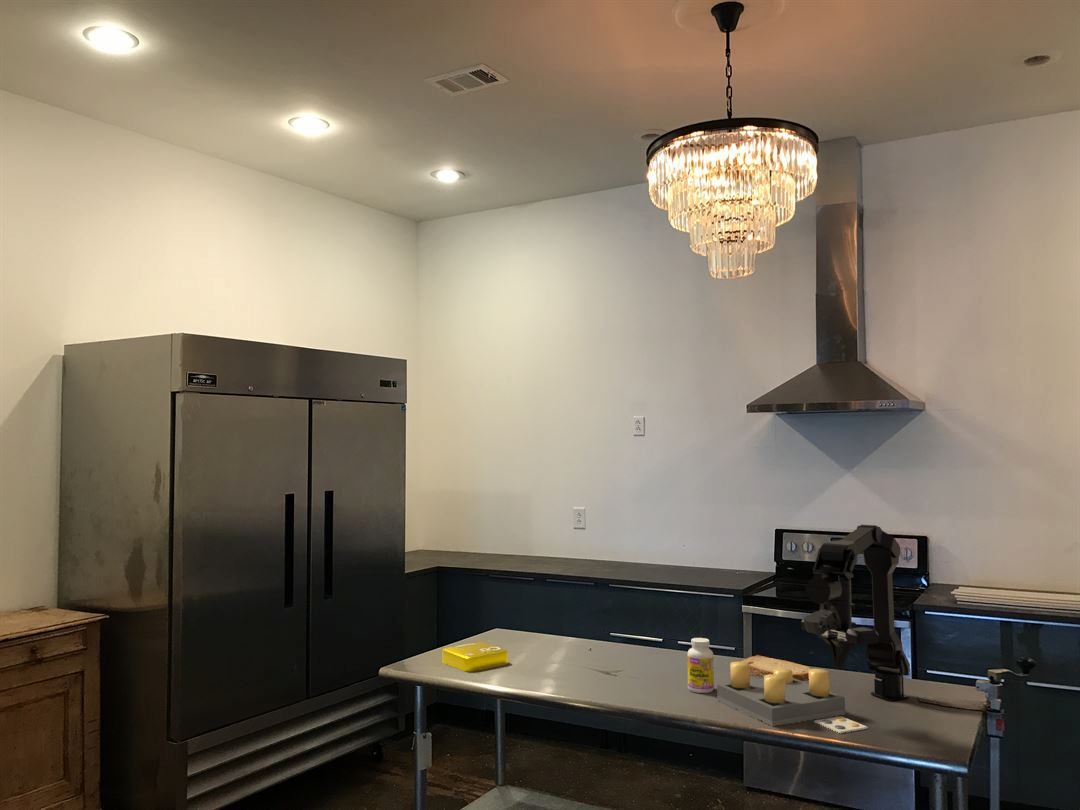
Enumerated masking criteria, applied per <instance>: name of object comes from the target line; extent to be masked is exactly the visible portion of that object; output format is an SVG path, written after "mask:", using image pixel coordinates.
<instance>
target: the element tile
mask: <svg viewBox="0 0 1080 810" xmlns="http://www.w3.org/2000/svg"><path fill="white" fill-rule="evenodd" d="M441 657H442V659H441V660H442V664H444V665H446V666H449V665H450V667H452V668H454V667H455V668H454V669H457V670H461V671H463V672H466V673H467V672H475V671H477V672H478V671H481V670H486V669H491V668H492V669H493V668H497V667H502V666H506V665H508V660H509V652H508V649H506V648H504V647H499V646H496V645H494V644H489V643H487V642H484V641H477V642H476V641H475V642H473V643H472V642H471V643H466V644H465V643H464V644H461V645H454V646H449V647H448V646H447V647H445V648H444V647H443V649H442V655H441ZM501 665H502V666H501ZM496 666H497V667H496Z"/></svg>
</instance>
